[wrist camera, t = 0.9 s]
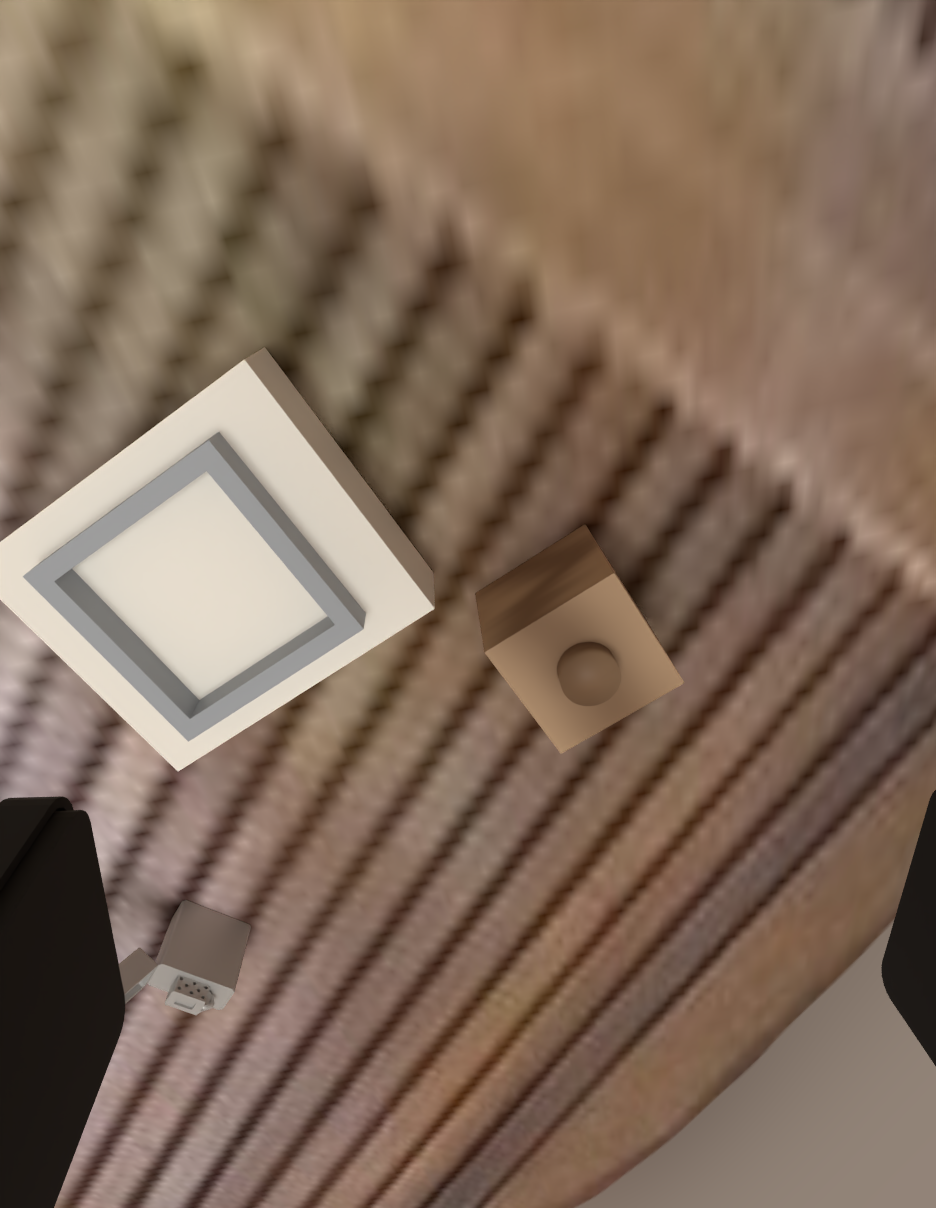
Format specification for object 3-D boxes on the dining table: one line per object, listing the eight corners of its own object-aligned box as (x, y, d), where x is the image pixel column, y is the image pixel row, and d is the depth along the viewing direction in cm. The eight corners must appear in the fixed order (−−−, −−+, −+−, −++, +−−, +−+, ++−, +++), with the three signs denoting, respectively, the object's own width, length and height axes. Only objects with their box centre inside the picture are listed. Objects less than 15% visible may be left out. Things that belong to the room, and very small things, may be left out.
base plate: (264, 347, 32) (235, 364, 27) (433, 572, 36) (435, 624, 31) (15, 533, 34) (-55, 581, 29) (201, 722, 39) (168, 792, 34)
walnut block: (584, 523, 36) (620, 582, 29) (646, 620, 38) (691, 695, 31) (475, 592, 37) (486, 664, 30) (541, 683, 39) (564, 767, 33)
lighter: (252, 925, 44) (218, 1057, 37) (239, 945, 45) (203, 1079, 38) (132, 879, 43) (72, 1008, 35) (120, 900, 43) (58, 1032, 36)
